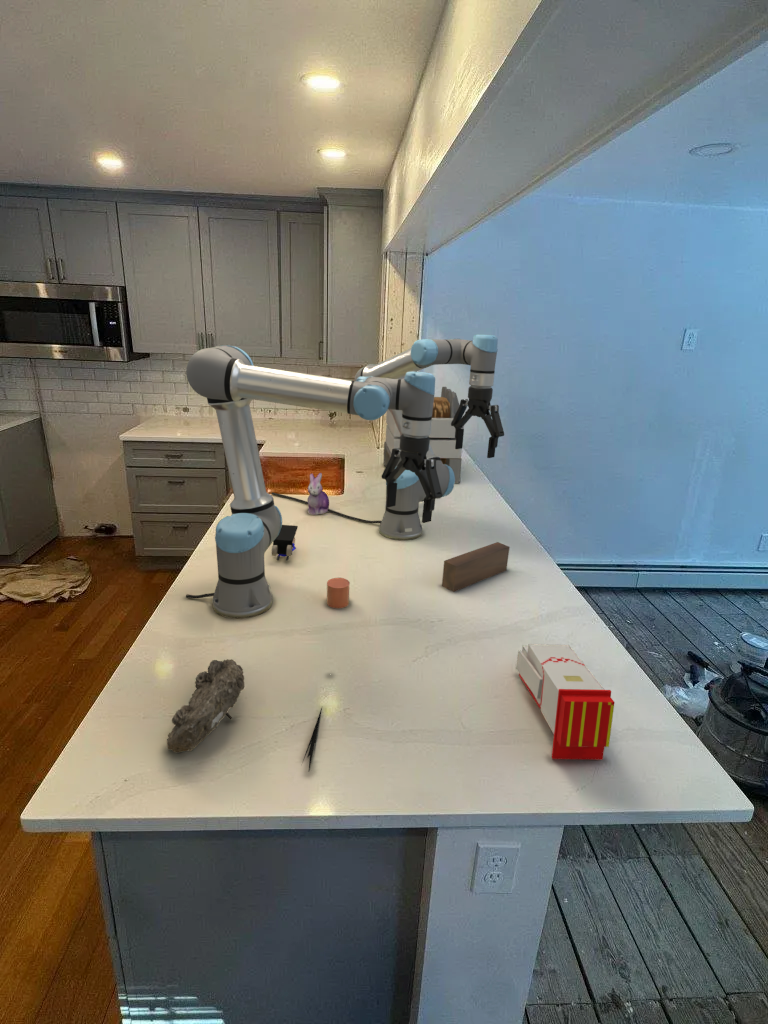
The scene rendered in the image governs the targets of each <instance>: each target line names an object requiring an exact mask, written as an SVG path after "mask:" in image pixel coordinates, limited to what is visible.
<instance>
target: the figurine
mask: <svg viewBox="0 0 768 1024" xmlns="http://www.w3.org/2000/svg"><path fill="white" fill-rule="evenodd" d="M322 478H323V473H322V472H319V473H318V474H317V476H316V477H315V476H314V473H310V474H309V484H308V487H307V492H308V497H307V502H308V504H307V513H308V515H313V516H317V515H323V514H326V513H329V512H328V509H330V497H329V496H328V494H327V493H326V492H325V491H323V485H322V484H321V481H322Z"/></svg>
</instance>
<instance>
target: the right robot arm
mask: <svg viewBox="0 0 768 1024" xmlns="http://www.w3.org/2000/svg"><path fill="white" fill-rule="evenodd" d="M498 341H499V339H498V337H497V336H496V335H493V334H474V335H473V338H472V340H471V339H462V338H447V339H446V338H445V339H439V338H423V339H417V340H415V341H413V344H412V345H411V347H410V348H407V349H406V350H404V351H402V352H399V353H397V354H395V355H392V356H390V357H389V358H387V359H385V360H383V361H380V362H377V364H375V363H369V364H366V365H365V366H363V367H361V368H359V370H357V372H356V374H355V376H354V380H353V381H356V380H357V378H358V377H361V376H363V377H369V376H373V377H379V378H389V379H404V378H405V375H406V373H407V372H412V371H413V372H420V371H421V370H424V369H427V368H429V367H431V366H436V365H466V366H470V368H469V369H470V370H469V380H468V385H470V386H468V390H467V398H463V399H460V401H459V405H460V406H459V408H458V410H457V412H456V414H455V416H454V418H453V420H452V422H451V426H454V427H455V438H456V445H455V449H461V448H462V449H463V445H464V433H465V428H464V429H461V428H463V426H464V427H465V425H466V424H467V423H468V421H469V420H470V419H471V418H472V417H477V418H481V420H483V423H484V424H485V427H486V428H487V430H488V432H489V435H490V437H489V438H488V444H487V452H486V453H487V455H486V458H487V459H491V458H495V454H496V449H497V448H498V444H499V438H500V437H501V438H502V437H504V436H505V432H504V431H505V430H504V428H503V423H502V420H501V416H500V412H499V411H500V410H499V409H500V406H499V404H491V401H492V400H493V392H494V390H493V387H494V383H495V373H496V371H495V370H496V362H497V355H498ZM390 411H391V413H392V416H393V418H394V420H395V423H396V425H397V428H398V430H399V433H400V435H402V434H403V433H401V424H402V410H392V409H390ZM426 457H427V459H435V460H436V470H437V475H438V479H439V483H440V487H441V491H442V497H441V498H444V497H447V496H449V495H450V494H452V492H453V490H454V488H455V476H454V472H453V470H452V468H451V467H450V466H448V465H446V464H442V461H441V459H440V457H439V456H436V455H434V453H433V451H432V449H431V446H430V444H429V450H428V452H427V454H426ZM420 471H422V469H421V470H420ZM394 483H397V493H396V505H395V506H392V507H386V504H387V493H386V492H385V504H384V505H385V507H384V508H385V509H384V513H383V515H382V519H381V520H369V519H363V518H358V517H355V516H351V515H348V514H345V513H342V512H339V511H335V510H333V509H330V508H329V509H328V512H327V513H331V514H334V515H337V516H340V517H343V518H346V519H350V520H353V521H356V522H361V523H365V524H379V525H378V533H379V534H380V535H381V536H382V537H385V538H387V539H389V540H395V541H410V540H415V539H418V538H420V537H421V536H422V535H423V525H422V524H421V523H422V521H421V518H420V515H419V507H420V506H419V505H420V503H421V502H424V498H427V497H426V494H425V492H424V490H423V487H422V485H421V483H420V480H419V478H418V476H416V474H415V472H411V471H410V470H405V471H404V472H403V473H402V474H401V475H400V476H399V477H398V478H397V480H396V482H394ZM386 488H387V483H386V482H385V491H386V490H387V489H386ZM430 494H431V493H430ZM271 496H275V497H280V498H284V499H288V500H291V501H294V502H295V501H296V502H299V503H302V504H305V505H308V500H303V499H301V498H296V497H293V496H289V495H286V494H281V493H276V492H271ZM438 499H440V498H437V499H436V500H438Z"/></svg>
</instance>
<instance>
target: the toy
mask: <svg viewBox="0 0 768 1024" xmlns="http://www.w3.org/2000/svg"><path fill="white" fill-rule="evenodd" d="M521 649H522V650H520V649H518V651H517V658H516V664H515V670H516V671H517V672H518V677H519V678H520V680H521V681H522V683H523V685H524V686H525V688H526V689H527V691H528V692H529V694H530V695H531V698H533V700H534V702H535V703H536V705H537V707H538V708H539V709H540V712H541V714H542V716H543V718H544V719H545V721H546V723H547V725H548V727H549V728H550V730H551V732H552V735H553V738H552V739H553V741H552V750H551V759H552V760H597V761H598V760H604V754H605V753H604V752H605V748H609V747H610V742H611V734H612V726H613V725H612V724H613V718H614V710H615V701H614V700H613V698H612V690H611V689H605V688H604V687H603V686H602V684H601V683H600V682H599V681H598V679H597V678H596V677H595V676H594V674H593V673H592V672H591V670H590V669H589V668H588V667H587V665H586V664H585V663H584V662H583V660H582V659H581V658H580V657H579V656H578V654H577V653H576V652H575V650H574V649H573V648H572V647H571V646H570V644H548V643H547V644H545V643H544V644H543V643H541V644H540V643H528V644H522V648H521Z"/></svg>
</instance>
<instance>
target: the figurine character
mask: <svg viewBox="0 0 768 1024" xmlns="http://www.w3.org/2000/svg"><path fill="white" fill-rule="evenodd" d="M298 528H299V527H298V525H292V524H291V525H290V524H282V527H281V530H280V532H279V535H278V536H277V537H276V539H275V540H274V541H273V542H272V547H271V556H272V557H276V561H280V559H281V557H282V558H285V561H286V562H288V561H289V559H290V557H292V556H293V552H294V551H295V550H296V549H297V547H296V545H295V544H296V538H295V536H296V534H297V530H298Z"/></svg>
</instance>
